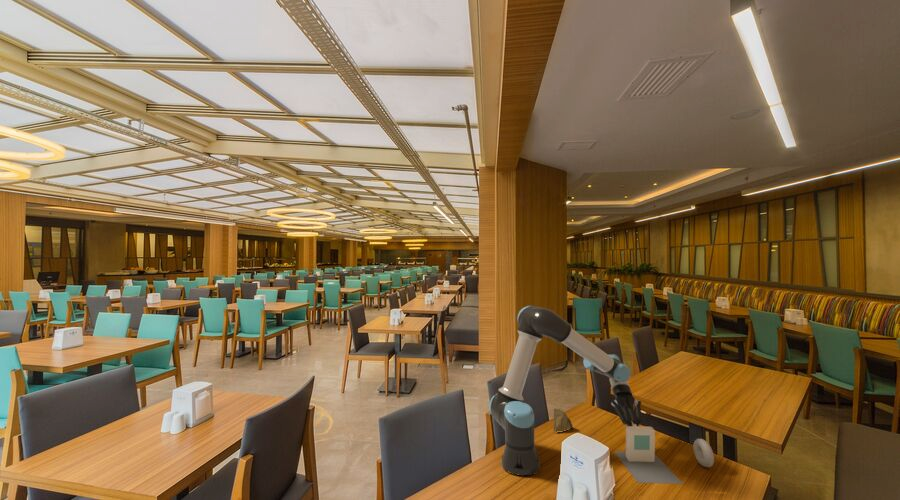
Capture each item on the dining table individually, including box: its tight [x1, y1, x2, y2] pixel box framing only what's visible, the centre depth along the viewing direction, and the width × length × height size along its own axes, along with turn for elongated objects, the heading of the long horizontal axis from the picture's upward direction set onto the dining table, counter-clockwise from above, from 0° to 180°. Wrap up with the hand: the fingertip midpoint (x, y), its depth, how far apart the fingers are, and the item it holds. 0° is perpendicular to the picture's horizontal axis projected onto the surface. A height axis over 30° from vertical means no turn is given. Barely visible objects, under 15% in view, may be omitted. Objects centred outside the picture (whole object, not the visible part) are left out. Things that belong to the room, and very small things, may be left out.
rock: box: [553, 408, 574, 433], centre depth 173 cm, size 11×9×10 cm
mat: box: [614, 451, 684, 485], centre depth 140 cm, size 22×16×1 cm
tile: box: [625, 425, 656, 462], centre depth 144 cm, size 3×10×13 cm, turn 86°
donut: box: [692, 438, 715, 468], centre depth 141 cm, size 10×4×10 cm, turn 175°
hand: (638, 441), depth 147 cm, fingers closed
